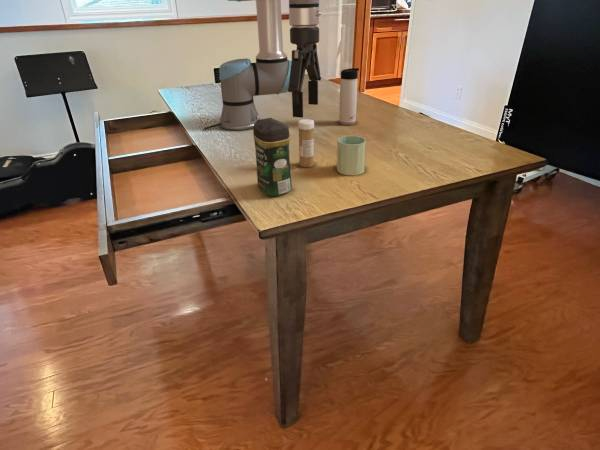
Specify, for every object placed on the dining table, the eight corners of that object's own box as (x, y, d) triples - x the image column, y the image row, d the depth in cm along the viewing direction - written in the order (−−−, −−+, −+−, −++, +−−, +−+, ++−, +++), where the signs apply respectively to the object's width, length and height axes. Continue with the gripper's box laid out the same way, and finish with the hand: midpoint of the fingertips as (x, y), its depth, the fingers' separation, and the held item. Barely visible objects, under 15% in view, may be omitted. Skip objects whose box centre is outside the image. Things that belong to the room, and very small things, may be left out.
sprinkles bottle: (299, 162, 126) (298, 118, 119) (314, 162, 126) (313, 118, 119) (299, 168, 122) (297, 123, 115) (314, 167, 122) (314, 123, 115)
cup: (340, 176, 116) (341, 145, 112) (334, 165, 123) (334, 136, 119) (367, 174, 117) (369, 143, 113) (360, 163, 124) (361, 134, 119)
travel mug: (355, 125, 155) (358, 70, 145) (338, 125, 157) (339, 69, 146) (357, 120, 161) (359, 66, 150) (340, 120, 162) (341, 66, 152)
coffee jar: (253, 186, 112) (247, 118, 103) (279, 179, 115) (276, 113, 106) (268, 200, 105) (263, 129, 95) (296, 193, 108) (294, 123, 98)
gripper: (302, 31, 93) (304, 124, 104) (331, 22, 114) (330, 100, 124) (272, 31, 96) (277, 122, 106) (305, 22, 116) (307, 98, 127)
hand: (306, 110), depth 115 cm, fingers open, 13 cm apart
